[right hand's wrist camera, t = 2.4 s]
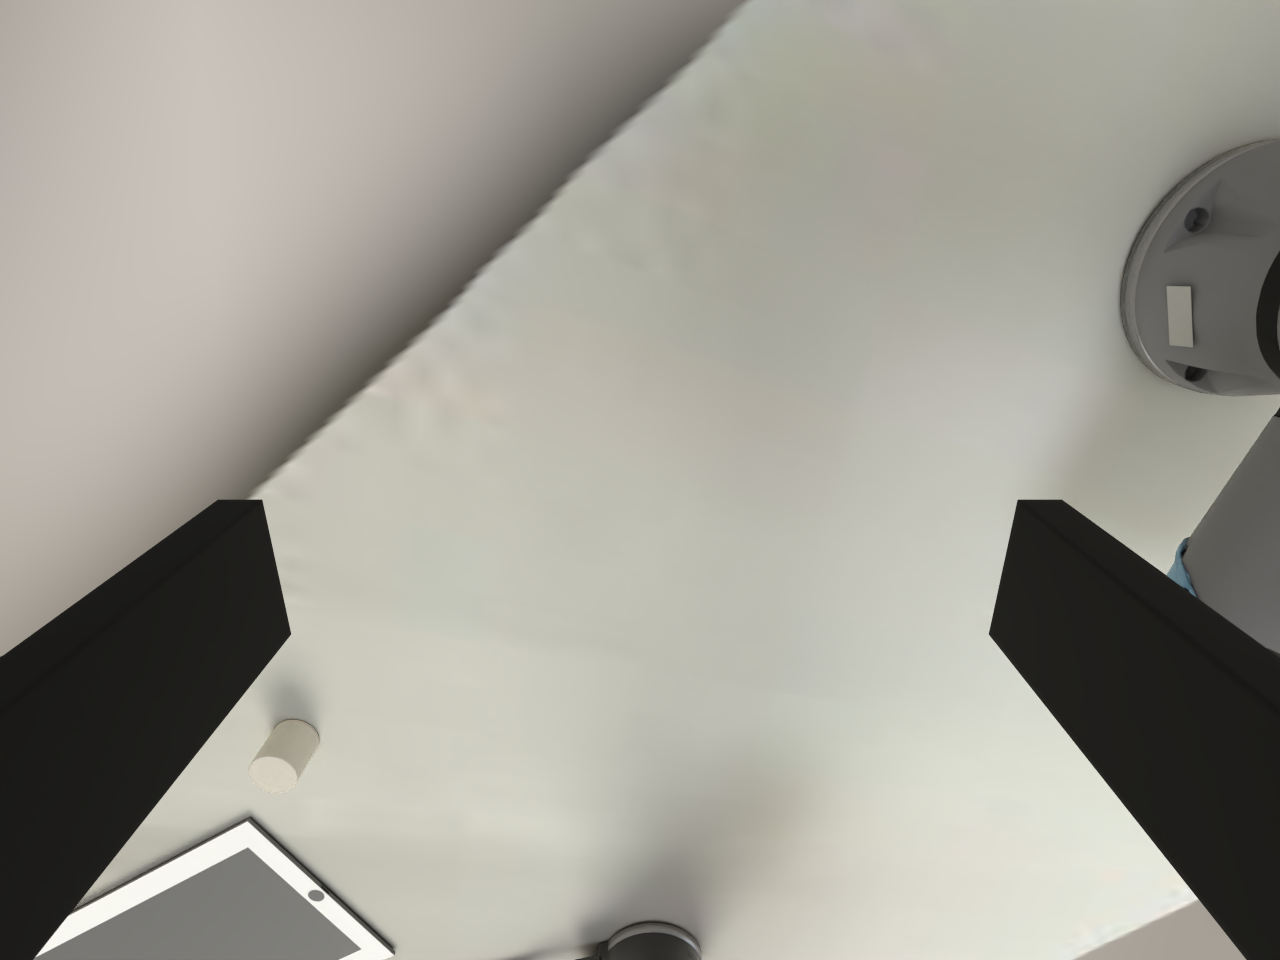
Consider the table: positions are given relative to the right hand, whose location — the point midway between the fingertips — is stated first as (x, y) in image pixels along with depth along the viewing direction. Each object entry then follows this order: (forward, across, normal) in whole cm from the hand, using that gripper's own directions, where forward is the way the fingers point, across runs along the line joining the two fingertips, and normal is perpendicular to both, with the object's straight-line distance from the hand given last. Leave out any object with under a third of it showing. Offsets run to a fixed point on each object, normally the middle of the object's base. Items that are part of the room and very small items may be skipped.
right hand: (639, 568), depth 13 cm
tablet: (+36, -42, -61) cm, 83 cm away
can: (+36, -28, -36) cm, 58 cm away
